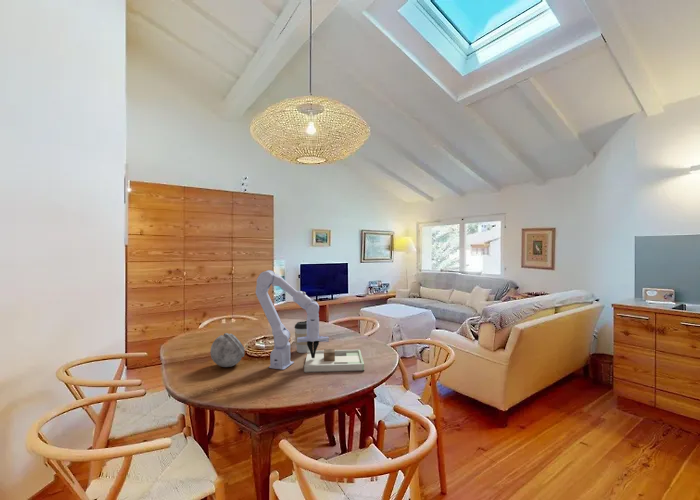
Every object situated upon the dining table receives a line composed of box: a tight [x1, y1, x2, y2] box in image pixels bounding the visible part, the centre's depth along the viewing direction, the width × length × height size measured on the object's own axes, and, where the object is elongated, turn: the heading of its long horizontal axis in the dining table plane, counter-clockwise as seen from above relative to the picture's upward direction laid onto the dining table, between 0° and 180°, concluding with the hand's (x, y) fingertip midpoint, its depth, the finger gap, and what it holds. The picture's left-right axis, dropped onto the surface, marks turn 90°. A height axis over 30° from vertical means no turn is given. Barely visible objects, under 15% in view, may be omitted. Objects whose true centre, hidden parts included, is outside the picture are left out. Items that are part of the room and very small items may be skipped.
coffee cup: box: [293, 320, 310, 354], centre depth 167 cm, size 9×9×15 cm
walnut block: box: [323, 348, 336, 361], centre depth 149 cm, size 5×5×4 cm
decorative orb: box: [210, 332, 246, 368], centre depth 146 cm, size 15×14×15 cm
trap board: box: [303, 349, 365, 374], centre depth 149 cm, size 26×20×3 cm
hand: (313, 357), depth 148 cm, fingers closed
